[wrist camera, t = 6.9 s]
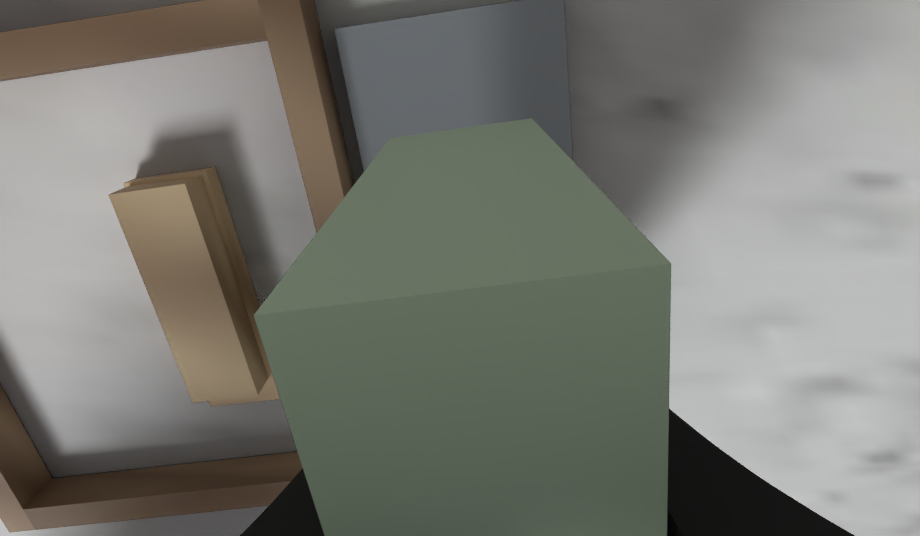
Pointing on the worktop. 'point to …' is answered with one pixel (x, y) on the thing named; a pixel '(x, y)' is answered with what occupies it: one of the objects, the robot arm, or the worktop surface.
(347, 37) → the slate mat
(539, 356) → the board
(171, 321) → the offcut stack
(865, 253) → the worktop surface
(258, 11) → the brown flat square frame
